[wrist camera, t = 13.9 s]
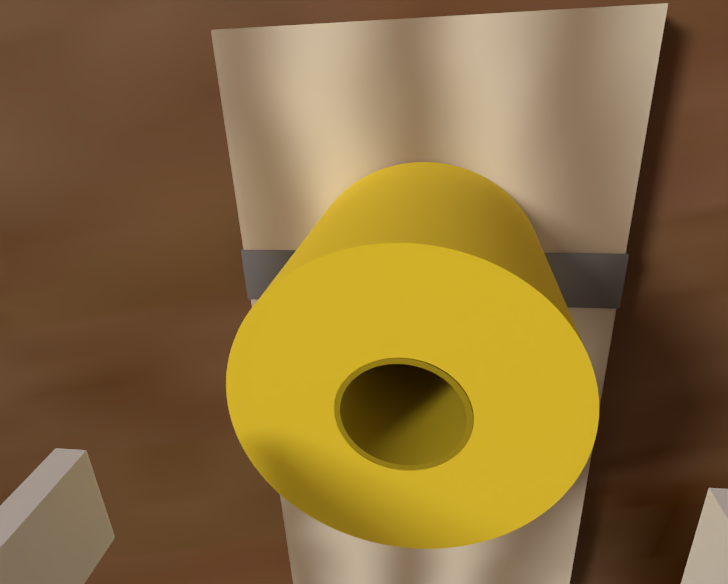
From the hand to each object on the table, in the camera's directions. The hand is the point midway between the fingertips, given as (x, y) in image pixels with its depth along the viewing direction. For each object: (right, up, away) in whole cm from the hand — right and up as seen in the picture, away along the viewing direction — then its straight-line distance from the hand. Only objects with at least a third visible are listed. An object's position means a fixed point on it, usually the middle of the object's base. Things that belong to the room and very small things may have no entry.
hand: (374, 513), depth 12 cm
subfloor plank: (+3, 0, +16) cm, 16 cm away
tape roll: (+2, +5, +12) cm, 13 cm away
